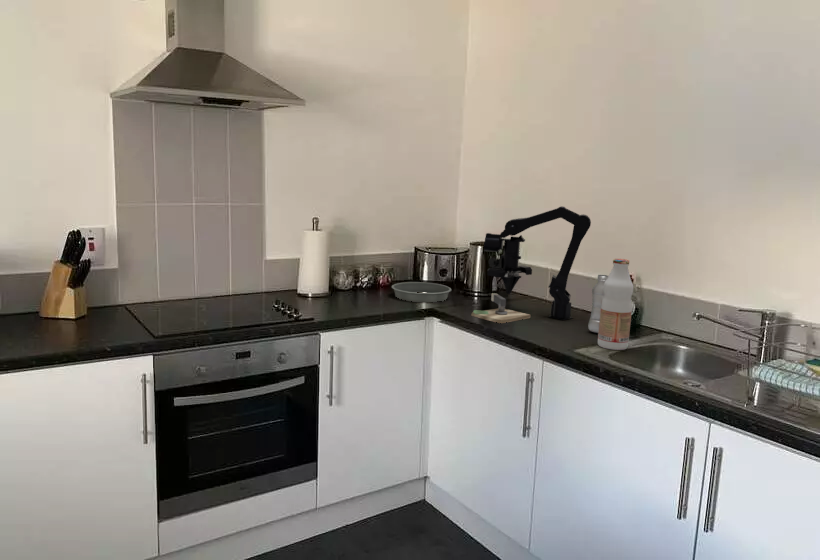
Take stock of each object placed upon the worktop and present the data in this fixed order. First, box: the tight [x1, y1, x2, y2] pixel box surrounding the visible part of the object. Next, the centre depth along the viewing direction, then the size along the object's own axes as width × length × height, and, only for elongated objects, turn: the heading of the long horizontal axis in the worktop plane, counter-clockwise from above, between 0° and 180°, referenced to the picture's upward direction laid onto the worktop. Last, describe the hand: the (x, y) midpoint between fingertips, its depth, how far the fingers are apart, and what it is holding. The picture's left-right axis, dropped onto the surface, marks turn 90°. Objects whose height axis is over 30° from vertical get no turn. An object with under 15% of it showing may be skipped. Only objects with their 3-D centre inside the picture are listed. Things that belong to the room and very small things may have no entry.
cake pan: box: [391, 281, 452, 303], centre depth 283 cm, size 25×25×4 cm
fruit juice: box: [597, 258, 635, 351], centre depth 217 cm, size 9×9×28 cm
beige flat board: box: [470, 308, 531, 324], centre depth 254 cm, size 16×18×2 cm
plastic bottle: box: [587, 274, 609, 334], centre depth 235 cm, size 6×7×20 cm
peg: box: [490, 292, 507, 311], centre depth 256 cm, size 11×2×4 cm, turn 13°
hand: (508, 293), depth 261 cm, fingers closed
